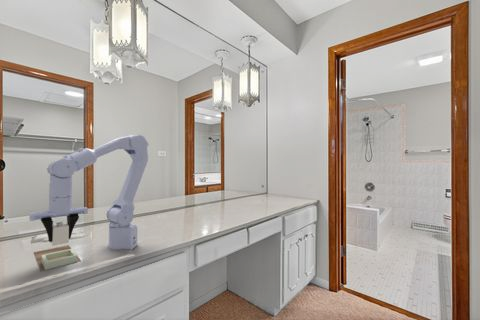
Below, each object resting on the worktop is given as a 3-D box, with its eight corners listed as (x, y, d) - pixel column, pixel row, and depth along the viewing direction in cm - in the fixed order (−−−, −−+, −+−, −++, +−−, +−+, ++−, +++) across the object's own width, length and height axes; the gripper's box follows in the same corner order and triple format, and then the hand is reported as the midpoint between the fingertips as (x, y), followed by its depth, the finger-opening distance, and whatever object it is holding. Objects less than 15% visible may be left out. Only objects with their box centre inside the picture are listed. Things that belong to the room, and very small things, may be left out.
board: (81, 264, 74) (81, 261, 74) (40, 275, 67) (40, 271, 67) (68, 247, 88) (68, 245, 88) (33, 255, 80) (33, 252, 80)
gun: (30, 239, 87) (32, 233, 94) (29, 248, 86) (31, 241, 94) (88, 233, 98) (85, 228, 106) (87, 241, 98) (84, 235, 106)
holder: (77, 261, 74) (77, 255, 74) (45, 269, 68) (45, 263, 68) (72, 254, 79) (72, 248, 79) (41, 261, 73) (41, 255, 73)
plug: (68, 242, 74) (68, 222, 74) (52, 245, 71) (53, 225, 71) (66, 239, 77) (66, 220, 77) (50, 242, 74) (50, 222, 74)
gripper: (84, 193, 82) (83, 231, 82) (28, 197, 71) (27, 241, 71) (89, 195, 77) (88, 236, 77) (31, 200, 66) (30, 247, 66)
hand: (59, 239), depth 73 cm, fingers closed on plug, 4 cm apart
